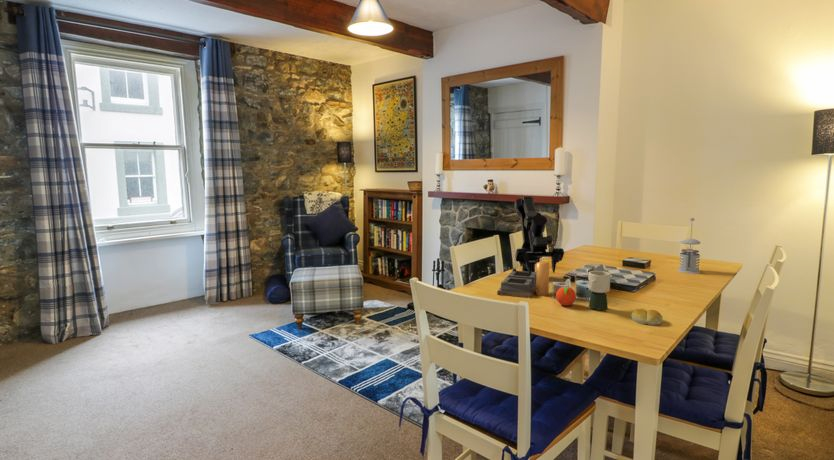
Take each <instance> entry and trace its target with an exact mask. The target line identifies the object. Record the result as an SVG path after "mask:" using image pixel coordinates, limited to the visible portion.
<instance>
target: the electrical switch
mask: <svg viewBox="0 0 834 460" xmlns="http://www.w3.org/2000/svg"><path fill="white" fill-rule="evenodd" d="M590 271H605V267H604V265H603V264H602V263H601V264H598V265H596V266H593V267H592V268H590V269H588V270H587V273H588V275H589V272H590Z"/></svg>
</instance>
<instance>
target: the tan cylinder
mask: <svg viewBox="0 0 834 460" xmlns="http://www.w3.org/2000/svg"><path fill="white" fill-rule="evenodd" d="M535 272H536V290H535V294H536V295H537V296H540V297H542V296H543V297H546V296H549V292H550V262H547V261H540V262H537V263H536V264H535Z"/></svg>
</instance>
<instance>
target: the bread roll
mask: <svg viewBox="0 0 834 460" xmlns="http://www.w3.org/2000/svg"><path fill="white" fill-rule="evenodd" d="M630 317H631V319H632V321H634V322H635V323H637V324H641V325H649V326H659V325H662V322H663V315H662V314H661V313H660V311H658V310H655V309H649V310H647V309H645V308H638V309H635V310H633V311H632V313H631V316H630Z"/></svg>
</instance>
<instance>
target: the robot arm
mask: <svg viewBox="0 0 834 460" xmlns="http://www.w3.org/2000/svg"><path fill="white" fill-rule="evenodd" d="M514 210H515V211H516V215H517V216H518V217H519V218H520V225H521V233H522V234H521V235H522V245H521V248H516V251H515V253H514V254H515V256H514V257H515V258H514V259H515V262H518V263H519V265H521V269H522V270H521V271H528V272H529V273H531V272H536V263H537V262H541V261H540V260H541V258H551V269H552V273H553V274H555V272H556V267H557V263H559V262H561V261H562V260H563V258H564V256H565V250H564V249H563V248H562V247H557V248H555V247H553V248H552V251H547V250H548V246H549V245H552V244H553V236H552V235H547V236H544V232H545V229H546V227H547V223H548V219H547V217H546V216H545V215H543V214H542V213H541V212H537V211H536V208H535V200H534V197H533V196H521V197H520V198H518V199H517V198H516V200H515V201H514Z"/></svg>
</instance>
